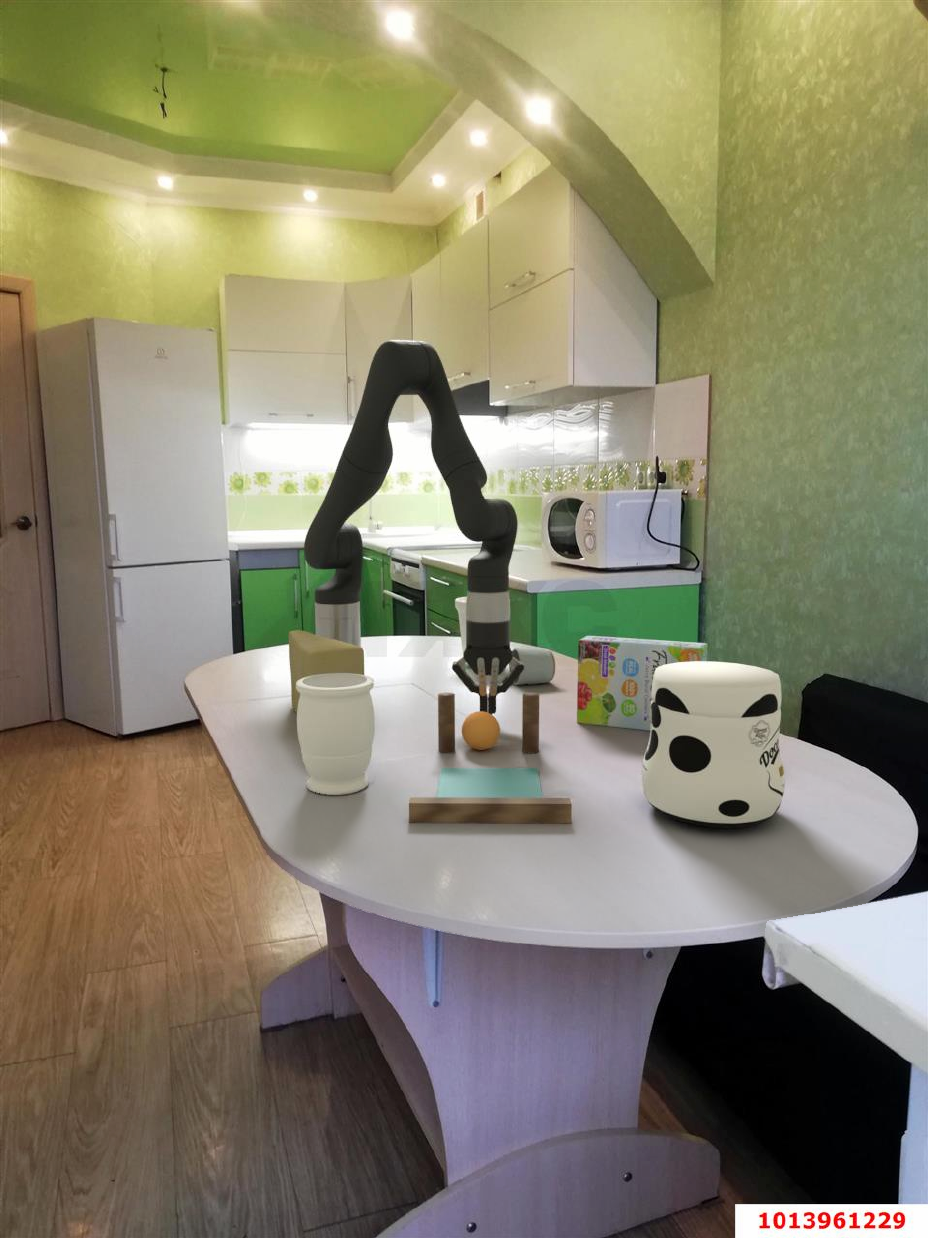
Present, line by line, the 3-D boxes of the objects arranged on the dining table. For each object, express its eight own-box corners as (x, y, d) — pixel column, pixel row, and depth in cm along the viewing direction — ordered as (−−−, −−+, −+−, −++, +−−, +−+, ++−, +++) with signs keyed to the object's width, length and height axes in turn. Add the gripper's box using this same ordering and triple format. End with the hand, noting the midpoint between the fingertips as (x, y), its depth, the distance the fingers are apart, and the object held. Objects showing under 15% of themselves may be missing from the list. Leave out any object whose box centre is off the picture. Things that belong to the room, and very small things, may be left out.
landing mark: (435, 804, 112) (435, 803, 112) (441, 769, 126) (441, 768, 126) (543, 805, 112) (543, 803, 112) (536, 769, 126) (536, 768, 126)
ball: (459, 733, 131) (463, 702, 135) (460, 756, 136) (464, 725, 140) (498, 736, 131) (501, 704, 135) (498, 758, 135) (501, 727, 139)
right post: (522, 753, 133) (522, 696, 132) (521, 748, 136) (522, 692, 135) (539, 753, 133) (539, 696, 132) (538, 748, 136) (538, 692, 135)
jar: (388, 778, 123) (386, 674, 120) (355, 803, 113) (353, 691, 111) (321, 770, 126) (318, 669, 124) (284, 794, 116) (280, 685, 114)
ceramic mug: (557, 685, 178) (557, 649, 177) (520, 688, 175) (520, 651, 174) (538, 676, 188) (538, 641, 187) (502, 678, 185) (502, 643, 184)
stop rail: (409, 822, 106) (408, 803, 106) (410, 816, 108) (410, 797, 108) (571, 823, 106) (571, 803, 106) (569, 817, 108) (570, 798, 108)
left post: (438, 753, 134) (437, 696, 132) (438, 748, 136) (438, 692, 135) (454, 753, 134) (454, 696, 132) (455, 748, 136) (454, 692, 135)
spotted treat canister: (813, 830, 104) (822, 684, 101) (685, 847, 99) (691, 694, 96) (730, 782, 120) (736, 656, 117) (617, 795, 115) (620, 664, 112)
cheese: (270, 710, 160) (266, 630, 157) (319, 703, 165) (317, 626, 162) (313, 740, 141) (310, 650, 139) (367, 731, 146) (365, 644, 144)
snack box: (705, 729, 146) (708, 642, 144) (699, 738, 141) (703, 647, 139) (584, 716, 155) (586, 633, 153) (575, 723, 150) (576, 638, 148)
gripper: (448, 620, 143) (449, 721, 146) (528, 620, 143) (527, 721, 146) (450, 613, 151) (450, 710, 153) (525, 613, 150) (525, 710, 153)
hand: (488, 715), depth 149 cm, fingers closed
